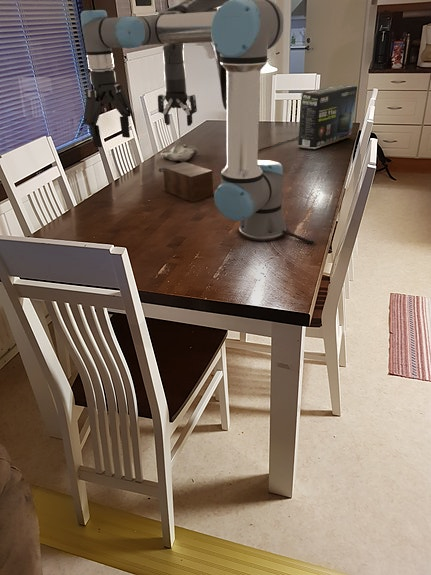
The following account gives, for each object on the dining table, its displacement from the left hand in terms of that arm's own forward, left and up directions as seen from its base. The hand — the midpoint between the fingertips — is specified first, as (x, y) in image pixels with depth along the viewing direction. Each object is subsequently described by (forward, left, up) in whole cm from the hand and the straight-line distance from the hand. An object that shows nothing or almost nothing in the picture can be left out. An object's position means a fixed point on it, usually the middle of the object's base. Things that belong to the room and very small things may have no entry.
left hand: (178, 125), depth 170 cm
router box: (-99, +25, -27) cm, 106 cm away
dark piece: (-4, -4, -26) cm, 26 cm away
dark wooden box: (-2, +1, -27) cm, 27 cm away
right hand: (+31, -5, 0) cm, 31 cm away
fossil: (-44, -32, -27) cm, 60 cm away
